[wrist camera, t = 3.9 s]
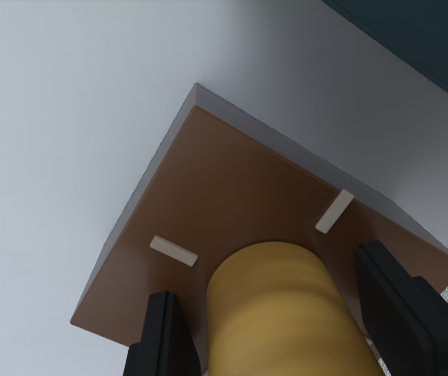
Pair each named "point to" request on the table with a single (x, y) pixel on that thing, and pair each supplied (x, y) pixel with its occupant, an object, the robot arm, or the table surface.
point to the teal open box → (405, 31)
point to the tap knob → (281, 318)
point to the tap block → (238, 221)
